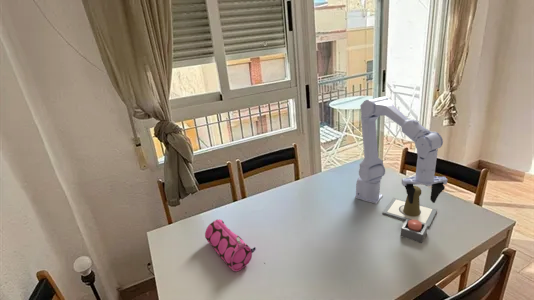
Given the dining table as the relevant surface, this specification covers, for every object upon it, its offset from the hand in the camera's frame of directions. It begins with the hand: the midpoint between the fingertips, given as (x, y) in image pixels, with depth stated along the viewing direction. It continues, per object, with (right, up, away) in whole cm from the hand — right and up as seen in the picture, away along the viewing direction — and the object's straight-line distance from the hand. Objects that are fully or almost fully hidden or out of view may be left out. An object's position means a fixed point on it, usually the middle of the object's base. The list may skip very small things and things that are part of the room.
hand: (421, 201), depth 110 cm
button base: (-3, -12, 0) cm, 12 cm away
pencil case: (-69, -18, -1) cm, 71 cm away
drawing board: (+1, -6, +12) cm, 14 cm away
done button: (-3, -10, -1) cm, 10 cm away
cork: (+1, -6, +11) cm, 12 cm away
